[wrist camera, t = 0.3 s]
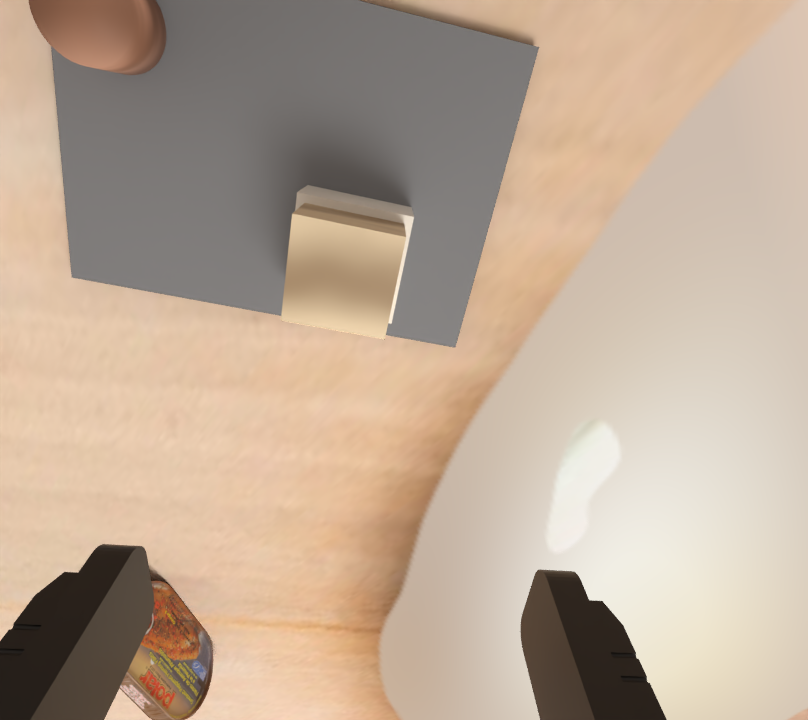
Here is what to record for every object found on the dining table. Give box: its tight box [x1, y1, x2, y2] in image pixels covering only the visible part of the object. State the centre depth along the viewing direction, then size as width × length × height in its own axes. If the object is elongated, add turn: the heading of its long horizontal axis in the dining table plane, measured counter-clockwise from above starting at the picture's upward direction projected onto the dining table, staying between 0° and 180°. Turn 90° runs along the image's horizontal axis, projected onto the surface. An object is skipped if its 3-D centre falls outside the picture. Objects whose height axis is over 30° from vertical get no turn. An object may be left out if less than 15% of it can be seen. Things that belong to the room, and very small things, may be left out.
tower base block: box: [295, 185, 414, 324], centre depth 32 cm, size 7×7×4 cm
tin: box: [120, 581, 213, 720], centre depth 47 cm, size 15×3×8 cm, turn 17°
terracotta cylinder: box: [29, 0, 166, 75], centre depth 26 cm, size 5×5×4 cm
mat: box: [51, 0, 539, 347], centre depth 32 cm, size 20×28×1 cm
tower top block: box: [281, 203, 406, 340], centre depth 28 cm, size 6×6×4 cm
